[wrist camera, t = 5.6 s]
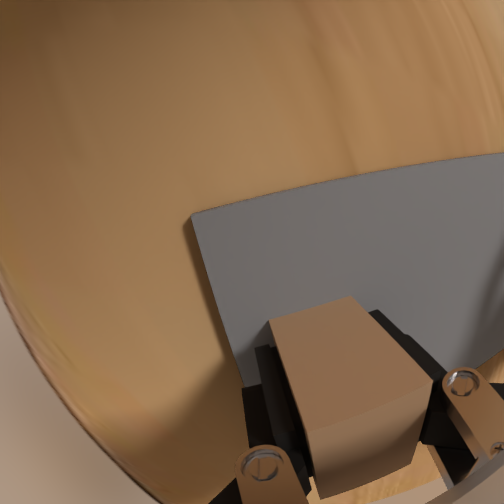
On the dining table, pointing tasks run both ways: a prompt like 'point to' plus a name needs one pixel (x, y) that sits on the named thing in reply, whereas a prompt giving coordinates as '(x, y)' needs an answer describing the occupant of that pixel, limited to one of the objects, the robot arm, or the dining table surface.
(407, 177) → the strip
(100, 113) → the dining table surface
